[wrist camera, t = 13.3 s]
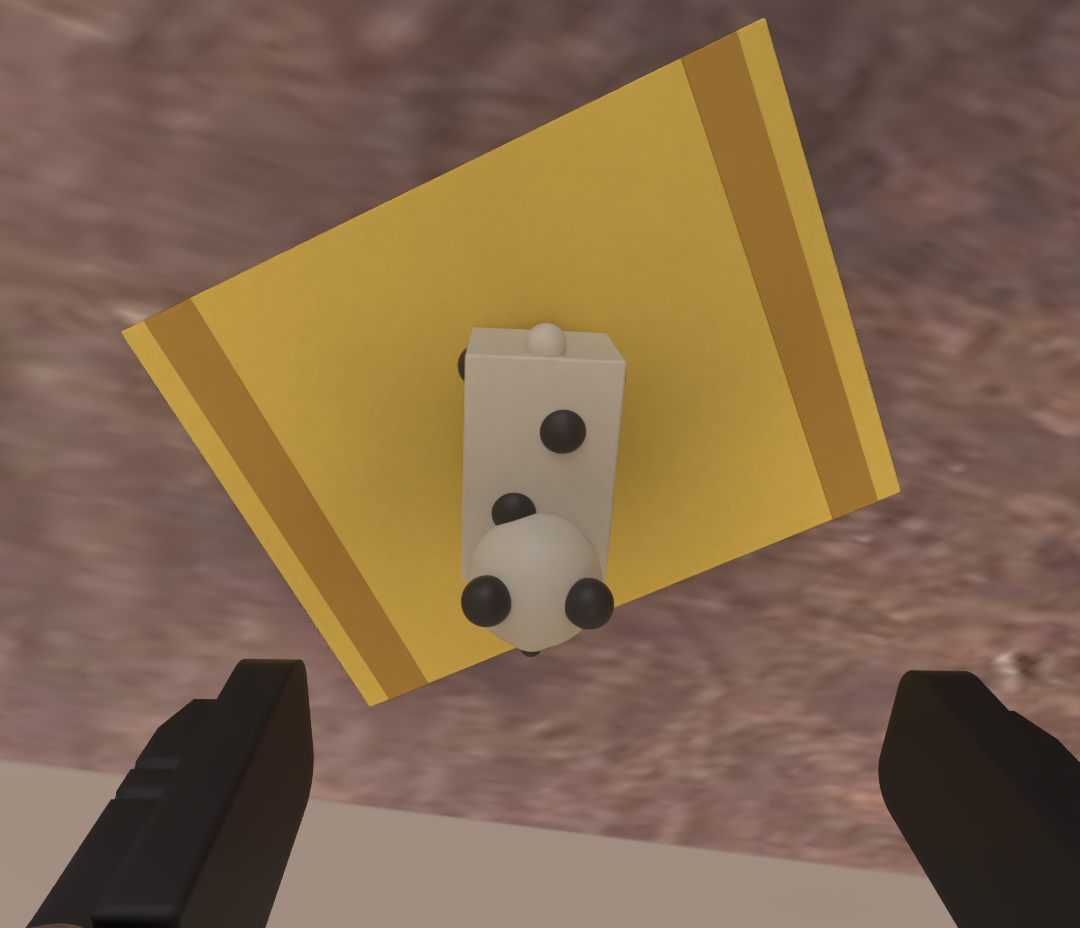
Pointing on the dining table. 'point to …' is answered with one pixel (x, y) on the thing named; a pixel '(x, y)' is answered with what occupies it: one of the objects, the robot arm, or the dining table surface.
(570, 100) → the dining table surface
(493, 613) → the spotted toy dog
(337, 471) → the towel
